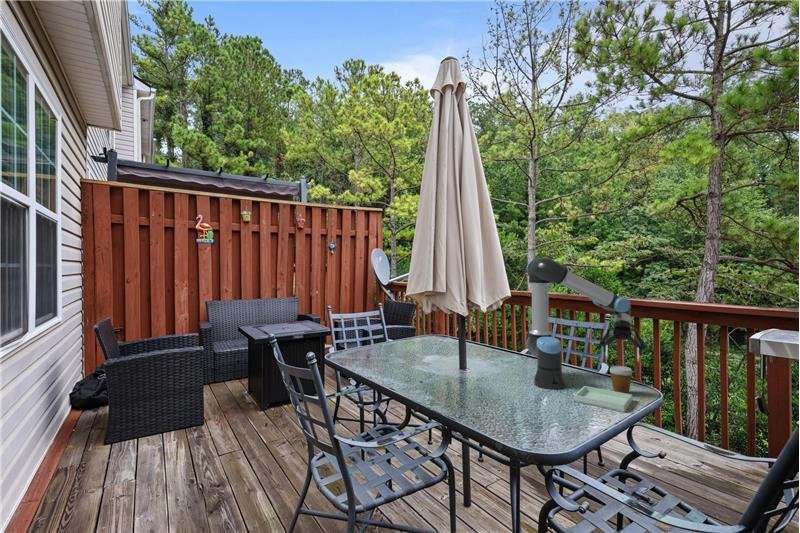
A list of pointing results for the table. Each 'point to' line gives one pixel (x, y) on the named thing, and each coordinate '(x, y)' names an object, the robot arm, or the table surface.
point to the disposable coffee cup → (621, 378)
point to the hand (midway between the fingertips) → (622, 359)
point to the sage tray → (603, 398)
